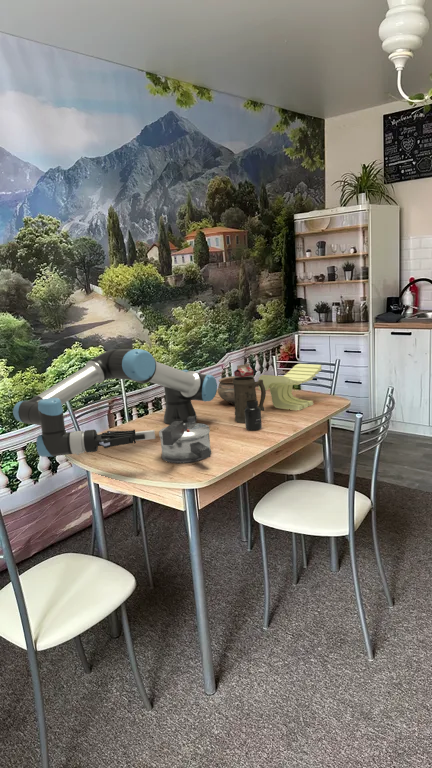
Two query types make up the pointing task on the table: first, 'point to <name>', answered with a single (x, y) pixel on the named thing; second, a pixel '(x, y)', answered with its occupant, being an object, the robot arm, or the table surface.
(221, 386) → the cooking pot
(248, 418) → the supplement bottle
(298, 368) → the slatted curved stool
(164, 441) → the lid
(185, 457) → the pot
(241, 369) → the juice carton
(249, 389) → the beer stein
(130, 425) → the table surface
